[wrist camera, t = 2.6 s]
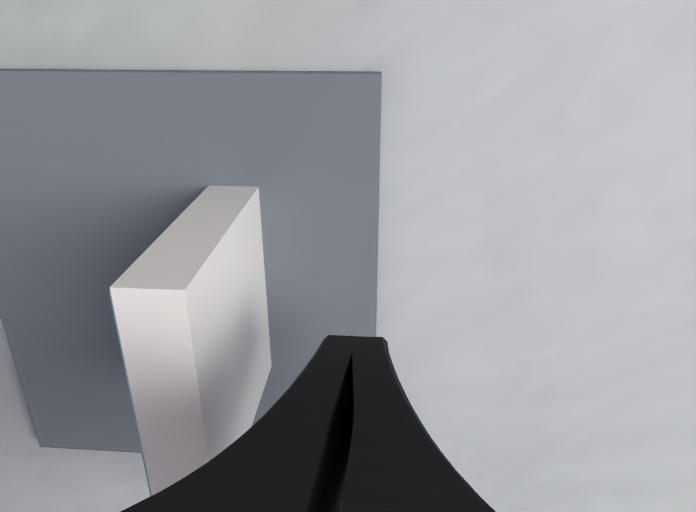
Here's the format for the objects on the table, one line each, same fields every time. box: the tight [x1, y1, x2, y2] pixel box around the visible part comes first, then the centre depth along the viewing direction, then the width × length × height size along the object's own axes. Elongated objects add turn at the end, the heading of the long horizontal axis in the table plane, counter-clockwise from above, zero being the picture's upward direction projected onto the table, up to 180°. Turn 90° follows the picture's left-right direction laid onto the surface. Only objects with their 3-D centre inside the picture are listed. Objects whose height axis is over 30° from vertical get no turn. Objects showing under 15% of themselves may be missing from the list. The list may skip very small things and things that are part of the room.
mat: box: [0, 69, 381, 453], centre depth 18 cm, size 13×12×1 cm
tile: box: [109, 185, 272, 496], centre depth 14 cm, size 6×2×6 cm, turn 0°
